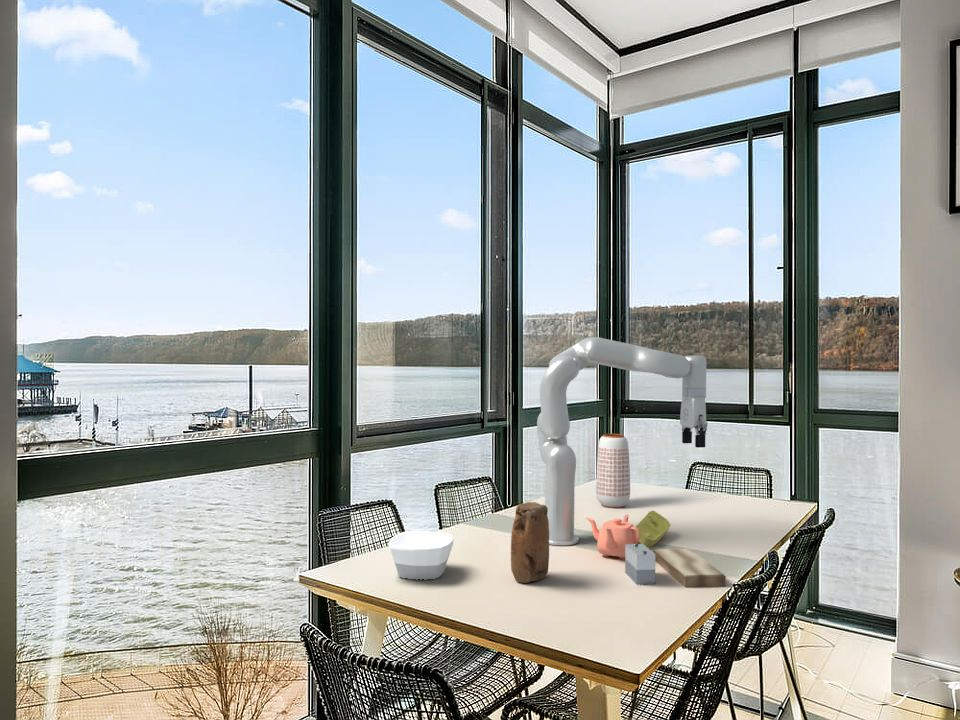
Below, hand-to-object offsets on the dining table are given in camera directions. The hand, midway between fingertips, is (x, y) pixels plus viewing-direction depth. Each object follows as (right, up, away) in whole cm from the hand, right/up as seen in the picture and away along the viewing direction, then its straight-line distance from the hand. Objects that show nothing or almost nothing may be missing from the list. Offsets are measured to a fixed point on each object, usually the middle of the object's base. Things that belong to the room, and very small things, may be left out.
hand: (693, 445), depth 229 cm
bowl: (-86, -31, -36) cm, 99 cm away
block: (-57, -31, -40) cm, 76 cm away
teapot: (-30, -31, -18) cm, 47 cm away
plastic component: (-15, -31, 0) cm, 35 cm away
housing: (-27, -31, -39) cm, 57 cm away
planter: (-17, -30, +48) cm, 59 cm away
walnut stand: (-12, -31, -34) cm, 48 cm away
